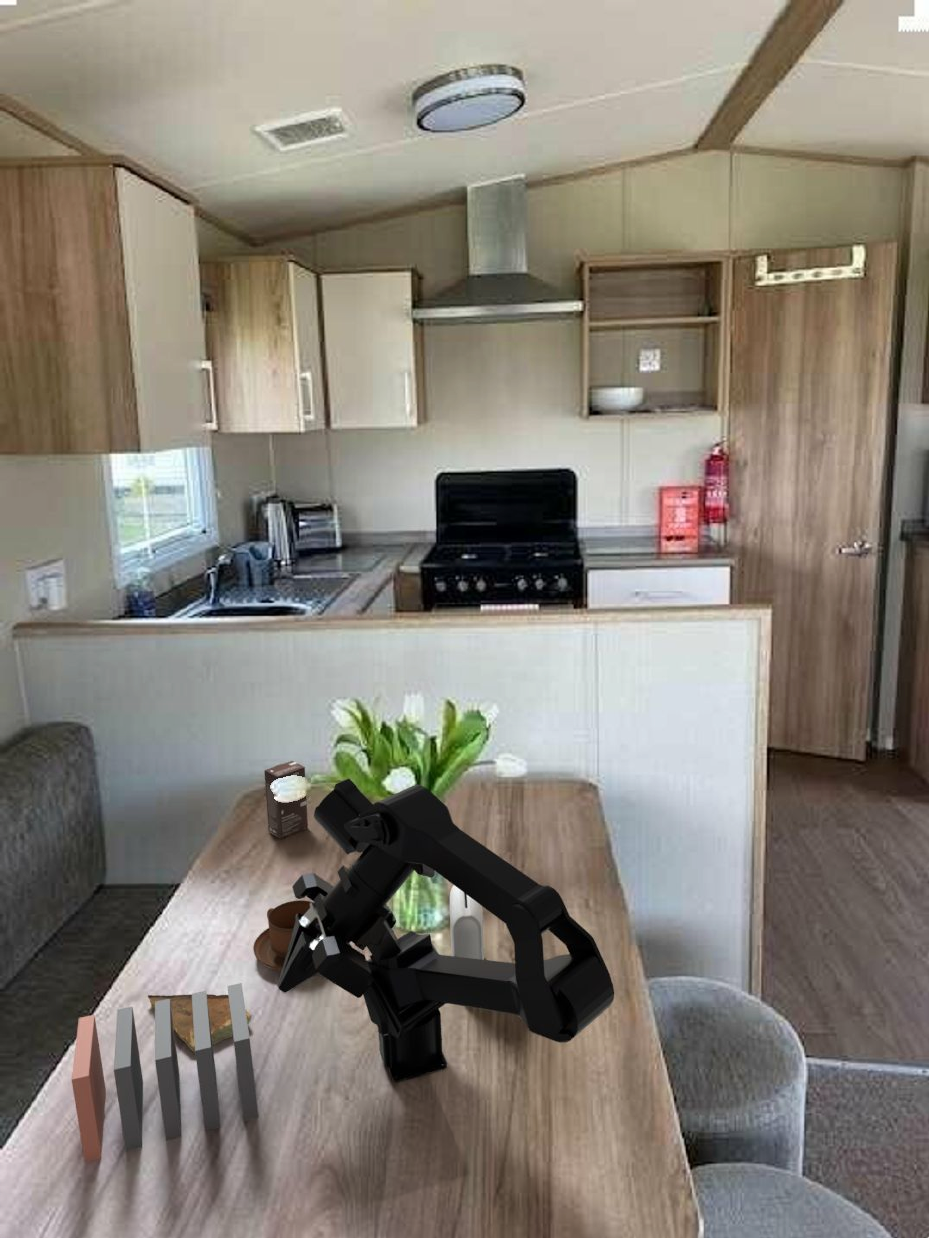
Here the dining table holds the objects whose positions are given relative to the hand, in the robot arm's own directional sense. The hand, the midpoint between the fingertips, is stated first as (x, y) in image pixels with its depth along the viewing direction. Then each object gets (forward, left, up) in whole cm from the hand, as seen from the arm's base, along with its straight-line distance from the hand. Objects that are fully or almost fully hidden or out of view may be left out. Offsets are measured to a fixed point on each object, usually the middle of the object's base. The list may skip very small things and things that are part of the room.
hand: (281, 989), depth 104 cm
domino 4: (+9, 0, -12) cm, 15 cm away
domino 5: (+5, 0, -12) cm, 13 cm away
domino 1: (+21, 0, -12) cm, 24 cm away
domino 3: (+13, 0, -12) cm, 17 cm away
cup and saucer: (-4, -24, -12) cm, 27 cm away
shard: (+10, -13, -12) cm, 20 cm away
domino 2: (+17, 0, -12) cm, 20 cm away
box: (-8, -62, -12) cm, 64 cm away
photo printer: (-25, -11, -12) cm, 30 cm away
